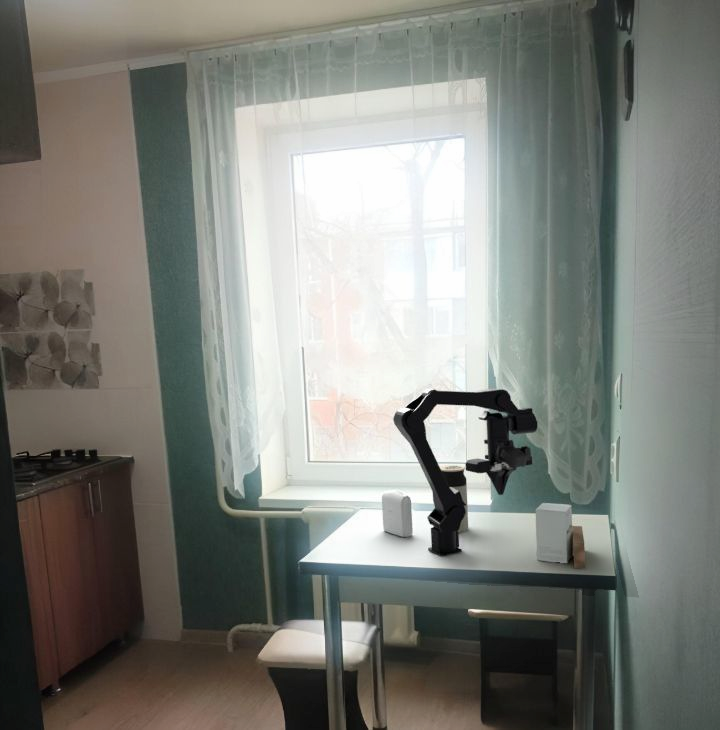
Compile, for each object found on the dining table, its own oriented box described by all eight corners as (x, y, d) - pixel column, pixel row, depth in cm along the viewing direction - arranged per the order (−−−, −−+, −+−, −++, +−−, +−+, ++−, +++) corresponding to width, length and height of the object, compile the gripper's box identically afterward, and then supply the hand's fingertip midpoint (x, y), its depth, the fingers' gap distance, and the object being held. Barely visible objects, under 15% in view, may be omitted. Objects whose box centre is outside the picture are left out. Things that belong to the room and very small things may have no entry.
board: (574, 568, 144) (573, 542, 144) (572, 549, 157) (572, 525, 157) (585, 568, 143) (584, 543, 143) (582, 549, 157) (582, 526, 157)
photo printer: (381, 531, 181) (379, 489, 181) (392, 528, 184) (390, 486, 183) (403, 538, 173) (401, 494, 172) (415, 535, 175) (413, 492, 175)
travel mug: (473, 528, 180) (471, 466, 179) (458, 535, 174) (455, 471, 173) (450, 524, 185) (448, 464, 185) (435, 530, 179) (432, 468, 179)
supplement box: (567, 564, 147) (565, 511, 146) (536, 560, 150) (534, 508, 150) (574, 555, 153) (572, 504, 153) (543, 551, 157) (541, 501, 157)
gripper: (491, 443, 152) (494, 506, 153) (546, 435, 162) (549, 494, 162) (462, 438, 162) (465, 498, 162) (516, 431, 171) (518, 487, 172)
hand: (500, 494), depth 164 cm, fingers closed
